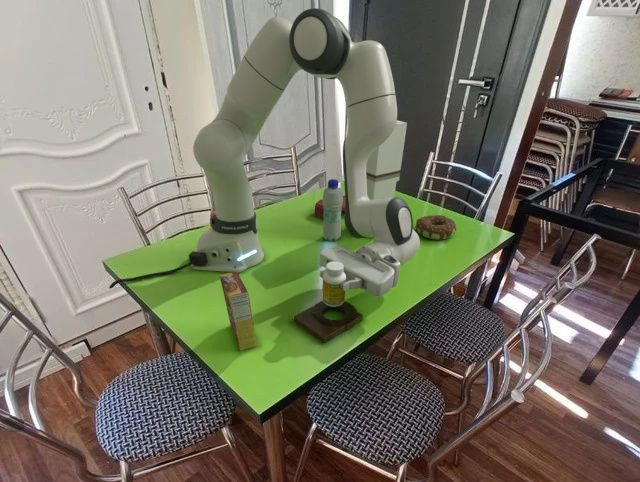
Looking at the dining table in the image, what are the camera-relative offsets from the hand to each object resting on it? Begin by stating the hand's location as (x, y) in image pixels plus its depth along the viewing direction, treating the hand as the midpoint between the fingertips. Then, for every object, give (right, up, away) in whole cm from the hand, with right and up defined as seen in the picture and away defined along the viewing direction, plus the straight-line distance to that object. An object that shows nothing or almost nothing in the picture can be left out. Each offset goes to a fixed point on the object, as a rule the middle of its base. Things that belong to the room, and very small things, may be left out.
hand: (331, 281), depth 84 cm
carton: (+6, +36, +64) cm, 73 cm away
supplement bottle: (+1, -5, +4) cm, 6 cm away
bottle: (+1, +19, +43) cm, 47 cm away
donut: (+38, +22, +47) cm, 64 cm away
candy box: (-21, -13, +1) cm, 25 cm away
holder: (-1, -9, +6) cm, 11 cm away
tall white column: (+16, +24, +49) cm, 57 cm away
